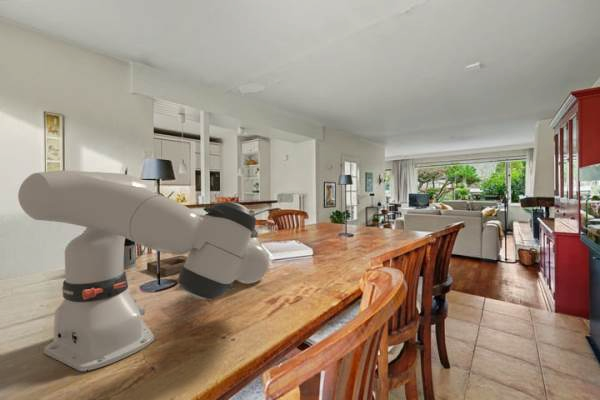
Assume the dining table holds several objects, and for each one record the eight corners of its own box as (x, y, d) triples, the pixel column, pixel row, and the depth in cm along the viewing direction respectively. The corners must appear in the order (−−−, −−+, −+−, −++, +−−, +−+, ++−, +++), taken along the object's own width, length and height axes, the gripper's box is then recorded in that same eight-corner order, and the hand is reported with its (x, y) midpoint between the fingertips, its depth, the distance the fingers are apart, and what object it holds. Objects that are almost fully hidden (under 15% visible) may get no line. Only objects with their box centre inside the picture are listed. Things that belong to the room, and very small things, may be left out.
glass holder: (124, 263, 125) (123, 231, 124) (152, 264, 124) (152, 232, 123) (109, 268, 116) (108, 234, 116) (139, 270, 115) (139, 235, 114)
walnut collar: (201, 267, 120) (201, 260, 120) (166, 276, 107) (166, 269, 106) (181, 261, 129) (181, 255, 129) (147, 269, 116) (147, 262, 116)
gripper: (218, 275, 98) (183, 273, 100) (240, 260, 118) (210, 259, 120) (218, 258, 97) (183, 256, 100) (240, 246, 117) (210, 245, 120)
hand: (198, 258), depth 110 cm, fingers closed on cork, 4 cm apart
